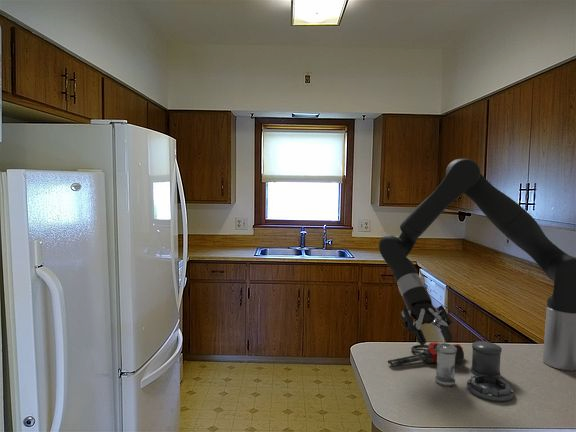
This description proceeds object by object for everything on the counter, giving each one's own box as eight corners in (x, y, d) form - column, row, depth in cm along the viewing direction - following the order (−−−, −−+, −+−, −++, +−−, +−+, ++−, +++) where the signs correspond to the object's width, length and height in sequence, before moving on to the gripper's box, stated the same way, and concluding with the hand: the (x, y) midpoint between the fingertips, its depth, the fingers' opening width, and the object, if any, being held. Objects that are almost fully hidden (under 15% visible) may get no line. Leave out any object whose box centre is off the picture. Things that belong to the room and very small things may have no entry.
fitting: (446, 376, 116) (448, 342, 115) (459, 385, 111) (461, 349, 110) (431, 379, 114) (432, 344, 113) (443, 388, 109) (445, 351, 108)
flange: (489, 378, 115) (490, 371, 115) (523, 398, 104) (524, 390, 104) (457, 384, 111) (458, 376, 111) (489, 405, 101) (490, 396, 101)
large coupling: (485, 365, 123) (487, 339, 122) (506, 377, 116) (508, 349, 115) (465, 369, 121) (466, 342, 120) (485, 381, 113) (486, 352, 113)
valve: (441, 351, 138) (475, 363, 124) (374, 364, 130) (401, 379, 116) (440, 332, 139) (473, 342, 124) (372, 344, 130) (399, 356, 116)
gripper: (398, 286, 120) (421, 339, 110) (439, 283, 125) (464, 334, 115) (388, 299, 126) (409, 350, 116) (427, 296, 130) (450, 345, 120)
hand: (436, 342), depth 115 cm, fingers open, 8 cm apart
